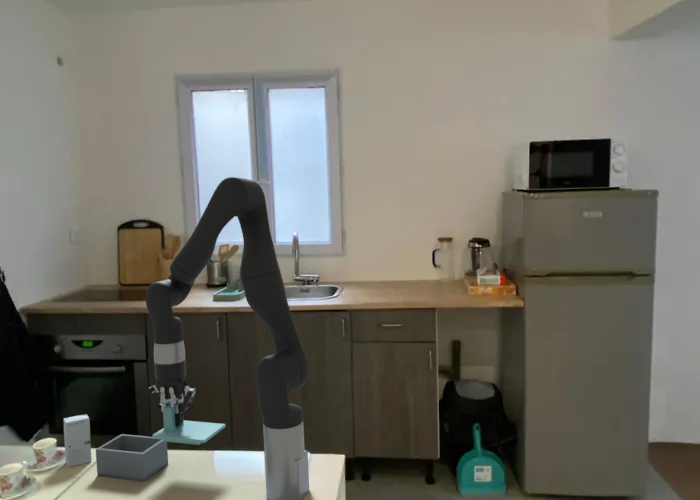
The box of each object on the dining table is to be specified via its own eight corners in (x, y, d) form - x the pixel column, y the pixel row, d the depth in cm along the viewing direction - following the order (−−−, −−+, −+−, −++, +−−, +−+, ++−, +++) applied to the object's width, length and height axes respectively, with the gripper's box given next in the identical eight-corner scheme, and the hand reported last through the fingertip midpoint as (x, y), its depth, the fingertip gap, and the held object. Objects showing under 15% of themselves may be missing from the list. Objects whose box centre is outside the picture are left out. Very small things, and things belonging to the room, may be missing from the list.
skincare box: (67, 468, 152) (64, 423, 152) (65, 462, 156) (62, 418, 155) (92, 461, 156) (89, 417, 155) (89, 456, 160) (86, 413, 159)
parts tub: (168, 464, 153) (166, 438, 152) (144, 481, 143) (142, 454, 143) (123, 459, 157) (121, 434, 156) (97, 475, 147) (95, 449, 147)
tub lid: (225, 431, 148) (224, 401, 148) (204, 447, 139) (202, 415, 138) (176, 426, 153) (175, 397, 152) (152, 442, 143) (150, 411, 142)
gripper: (202, 356, 147) (205, 422, 148) (155, 353, 151) (158, 418, 152) (185, 364, 140) (189, 434, 141) (136, 361, 144) (140, 429, 145)
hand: (173, 425), depth 147 cm, fingers closed on tub lid
